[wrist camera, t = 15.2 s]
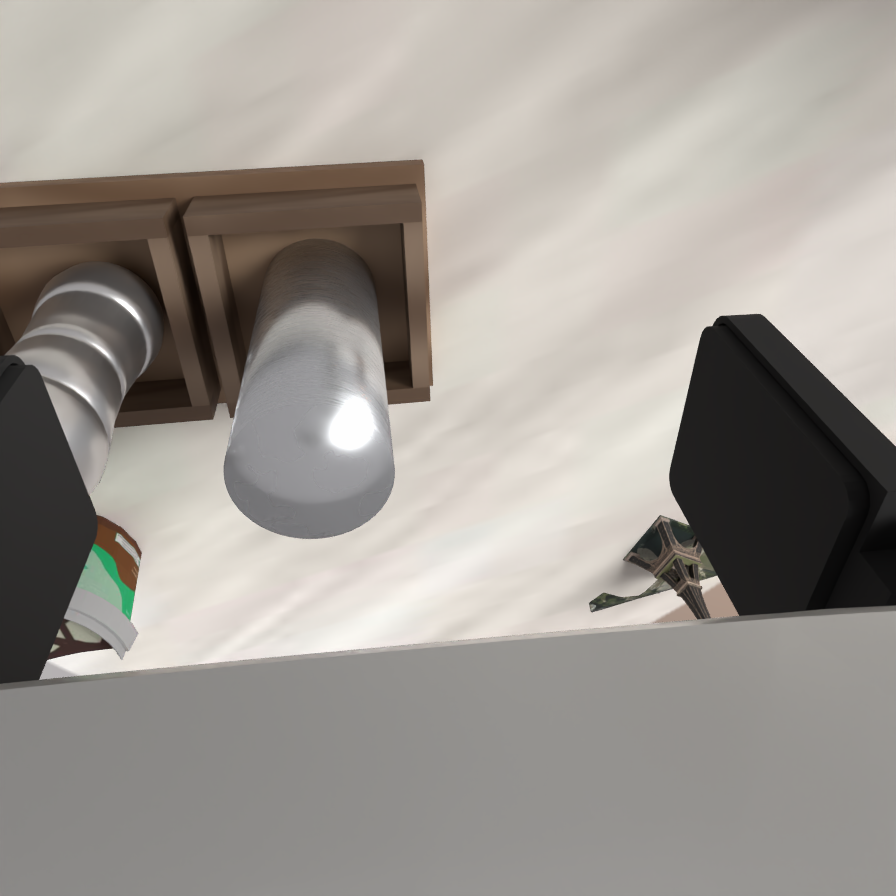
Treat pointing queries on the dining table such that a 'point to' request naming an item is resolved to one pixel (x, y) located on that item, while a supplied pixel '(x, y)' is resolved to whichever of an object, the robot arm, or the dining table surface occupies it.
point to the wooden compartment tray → (222, 264)
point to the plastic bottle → (92, 352)
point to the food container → (102, 597)
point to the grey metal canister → (313, 399)
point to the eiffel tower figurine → (668, 565)
